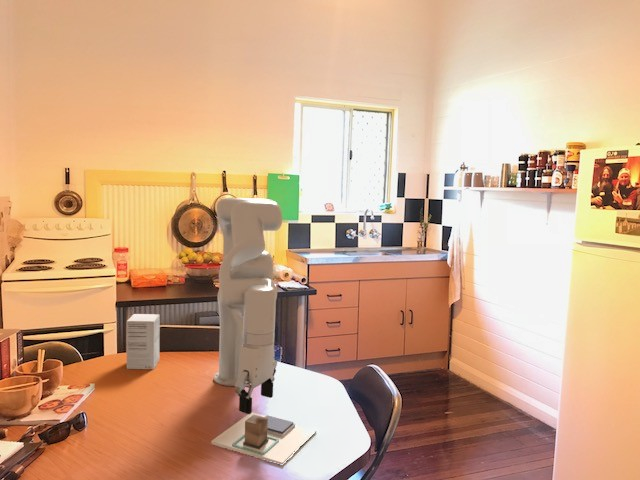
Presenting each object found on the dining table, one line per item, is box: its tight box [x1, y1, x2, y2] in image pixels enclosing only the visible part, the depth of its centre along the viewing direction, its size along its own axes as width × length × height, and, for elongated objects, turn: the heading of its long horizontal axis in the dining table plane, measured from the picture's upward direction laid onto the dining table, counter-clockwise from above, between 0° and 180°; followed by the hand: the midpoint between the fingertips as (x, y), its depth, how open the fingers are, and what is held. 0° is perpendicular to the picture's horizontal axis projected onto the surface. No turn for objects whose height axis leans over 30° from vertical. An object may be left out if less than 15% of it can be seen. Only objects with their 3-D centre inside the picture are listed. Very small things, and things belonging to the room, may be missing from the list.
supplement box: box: [125, 313, 161, 370], centre depth 173 cm, size 10×9×17 cm
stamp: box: [243, 415, 269, 449], centre depth 123 cm, size 4×4×6 cm
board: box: [210, 412, 309, 464], centre depth 127 cm, size 18×20×2 cm
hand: (256, 404), depth 123 cm, fingers open, 9 cm apart
